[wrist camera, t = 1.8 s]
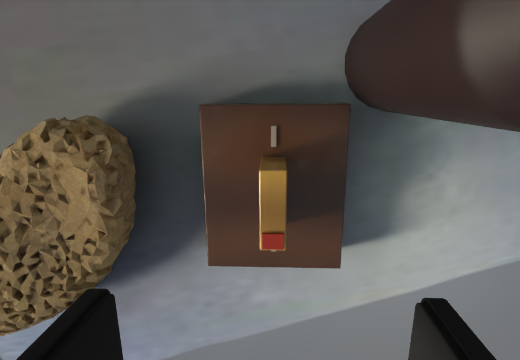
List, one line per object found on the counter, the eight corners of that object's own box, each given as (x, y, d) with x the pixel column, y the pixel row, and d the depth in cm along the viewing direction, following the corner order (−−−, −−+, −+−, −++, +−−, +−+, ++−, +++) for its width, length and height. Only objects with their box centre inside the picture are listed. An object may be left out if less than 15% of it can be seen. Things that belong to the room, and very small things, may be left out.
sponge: (38, 312, 31) (198, 256, 24) (-63, 370, 24) (125, 315, 17) (-20, 190, 31) (126, 96, 24) (-140, 211, 23) (19, 85, 16)
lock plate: (208, 103, 24) (198, 104, 21) (341, 102, 23) (351, 103, 20) (215, 247, 27) (207, 267, 24) (333, 249, 27) (340, 270, 24)
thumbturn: (262, 156, 22) (258, 171, 18) (285, 156, 22) (287, 171, 18) (262, 224, 23) (259, 252, 19) (284, 224, 23) (286, 252, 19)
